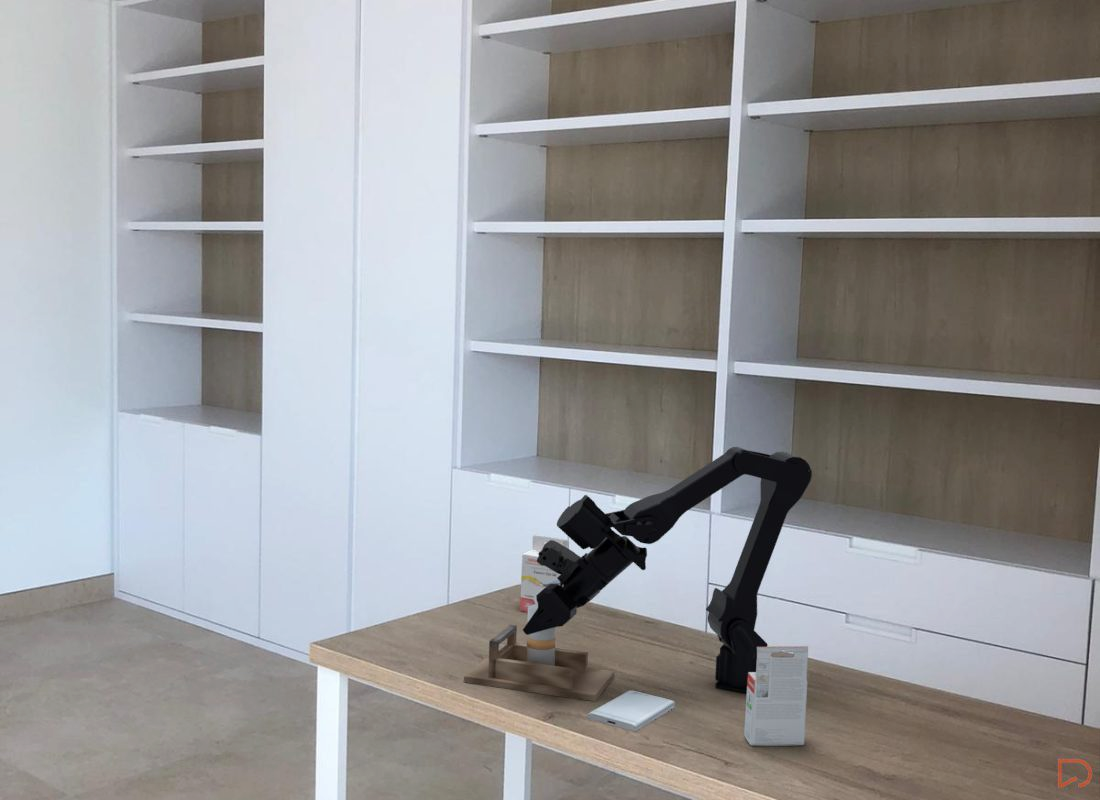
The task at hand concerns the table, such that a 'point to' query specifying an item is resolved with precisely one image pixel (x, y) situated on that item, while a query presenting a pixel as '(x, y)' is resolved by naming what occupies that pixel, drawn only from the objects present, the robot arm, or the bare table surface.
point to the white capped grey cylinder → (541, 643)
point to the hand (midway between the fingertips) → (533, 624)
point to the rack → (538, 671)
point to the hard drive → (632, 710)
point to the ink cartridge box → (536, 572)
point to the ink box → (777, 698)
